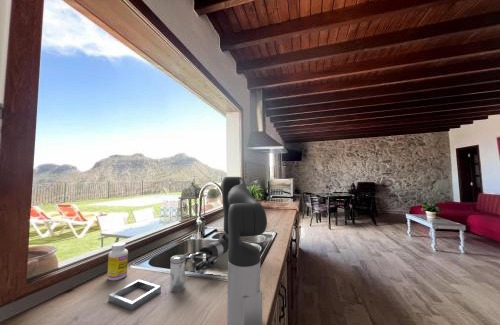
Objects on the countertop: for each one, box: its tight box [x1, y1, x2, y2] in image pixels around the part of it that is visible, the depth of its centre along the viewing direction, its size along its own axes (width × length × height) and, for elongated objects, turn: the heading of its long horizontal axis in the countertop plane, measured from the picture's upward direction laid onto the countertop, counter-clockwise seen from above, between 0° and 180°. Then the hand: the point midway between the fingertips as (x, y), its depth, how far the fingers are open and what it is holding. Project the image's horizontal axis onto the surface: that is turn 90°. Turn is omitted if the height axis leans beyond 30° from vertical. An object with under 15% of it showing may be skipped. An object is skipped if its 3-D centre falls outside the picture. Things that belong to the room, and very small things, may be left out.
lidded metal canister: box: [169, 254, 186, 293], centre depth 76 cm, size 5×5×11 cm
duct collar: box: [108, 279, 162, 311], centre depth 71 cm, size 11×11×2 cm
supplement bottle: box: [106, 241, 129, 281], centre depth 84 cm, size 7×7×13 cm
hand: (187, 266), depth 81 cm, fingers open, 8 cm apart
